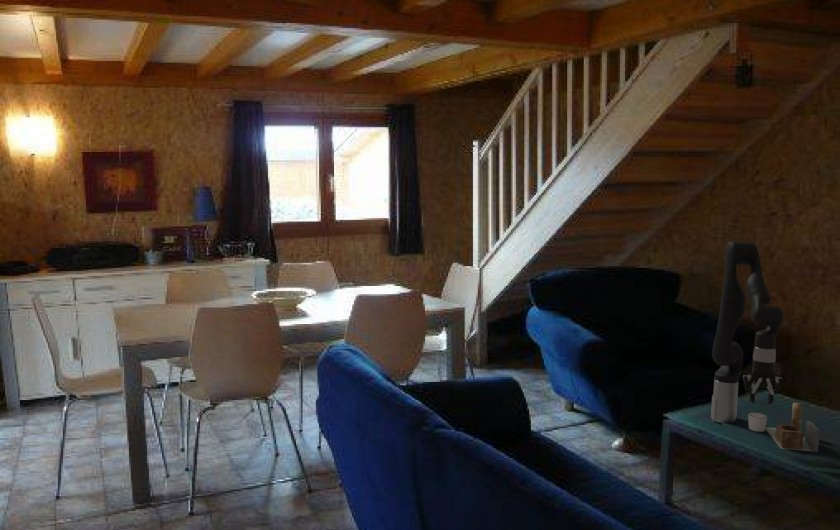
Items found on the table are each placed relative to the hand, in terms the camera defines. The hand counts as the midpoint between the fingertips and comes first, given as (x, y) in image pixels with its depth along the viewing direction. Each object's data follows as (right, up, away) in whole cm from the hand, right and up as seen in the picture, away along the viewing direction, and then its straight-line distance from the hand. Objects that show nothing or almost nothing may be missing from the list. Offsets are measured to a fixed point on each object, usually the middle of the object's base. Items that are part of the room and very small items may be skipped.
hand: (761, 403), depth 258 cm
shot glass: (+6, -15, +16) cm, 23 cm away
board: (+14, -16, +5) cm, 22 cm away
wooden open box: (+10, -15, 0) cm, 18 cm away
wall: (+18, -16, -2) cm, 24 cm away
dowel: (+19, -14, +11) cm, 26 cm away
